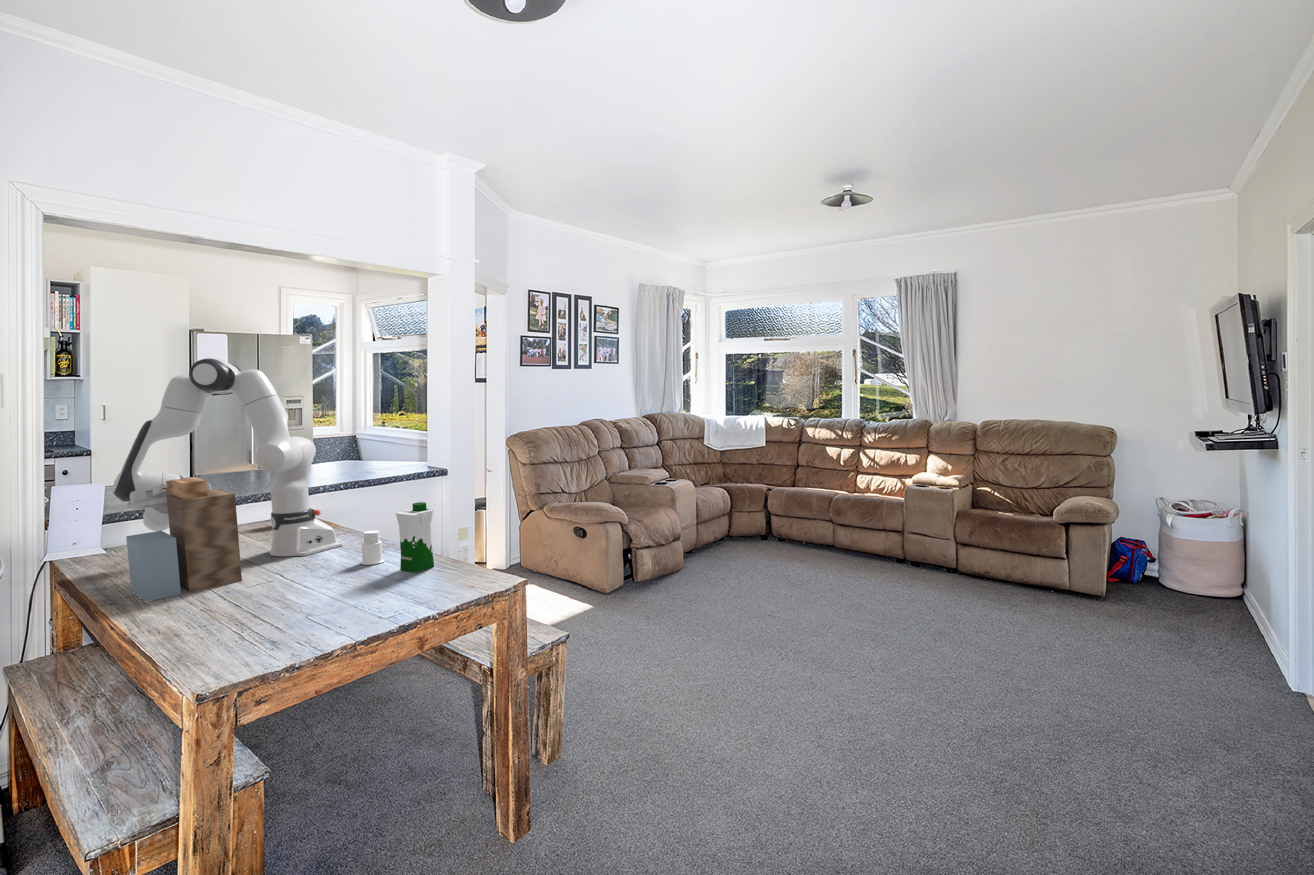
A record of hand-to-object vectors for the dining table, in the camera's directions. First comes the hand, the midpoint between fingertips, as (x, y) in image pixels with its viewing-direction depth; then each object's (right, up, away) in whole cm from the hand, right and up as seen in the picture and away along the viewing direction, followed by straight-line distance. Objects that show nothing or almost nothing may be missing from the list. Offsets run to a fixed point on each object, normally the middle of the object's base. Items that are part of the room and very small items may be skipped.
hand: (177, 484), depth 194 cm
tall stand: (+11, -28, -3) cm, 31 cm away
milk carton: (+69, -27, +7) cm, 74 cm away
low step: (+4, -29, -13) cm, 32 cm away
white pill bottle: (+52, -26, +14) cm, 60 cm away
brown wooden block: (+6, -2, -4) cm, 7 cm away
